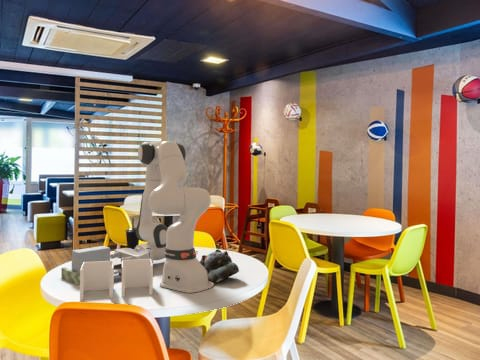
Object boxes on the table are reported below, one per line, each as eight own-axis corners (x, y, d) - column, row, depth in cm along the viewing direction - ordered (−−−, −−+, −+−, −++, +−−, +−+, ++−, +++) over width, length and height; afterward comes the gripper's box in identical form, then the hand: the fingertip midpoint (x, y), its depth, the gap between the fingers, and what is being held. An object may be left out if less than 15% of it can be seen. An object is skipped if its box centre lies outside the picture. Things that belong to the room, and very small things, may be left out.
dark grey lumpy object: (208, 286, 155) (197, 253, 158) (205, 289, 166) (194, 258, 169) (243, 272, 159) (230, 241, 163) (237, 276, 170) (226, 247, 174)
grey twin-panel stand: (150, 286, 154) (151, 258, 154) (152, 295, 144) (152, 265, 143) (83, 290, 147) (83, 262, 147) (79, 300, 137) (80, 269, 137)
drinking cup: (137, 257, 201) (138, 219, 200) (123, 257, 201) (123, 219, 201) (141, 254, 209) (142, 217, 208) (127, 254, 209) (128, 217, 208)
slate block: (109, 275, 168) (110, 247, 168) (78, 282, 158) (78, 252, 158) (103, 272, 172) (103, 245, 172) (71, 278, 162) (71, 250, 162)
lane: (138, 272, 173) (138, 263, 173) (78, 285, 153) (78, 275, 153) (119, 266, 184) (119, 257, 184) (61, 277, 164) (61, 267, 164)
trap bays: (130, 278, 163) (130, 275, 163) (111, 283, 157) (111, 279, 157) (98, 266, 182) (98, 263, 182) (79, 270, 176) (79, 266, 176)
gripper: (130, 243, 191) (104, 247, 180) (155, 250, 177) (128, 255, 167) (130, 256, 191) (104, 261, 181) (155, 264, 177) (128, 269, 167)
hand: (115, 258), depth 173 cm, fingers open, 8 cm apart
